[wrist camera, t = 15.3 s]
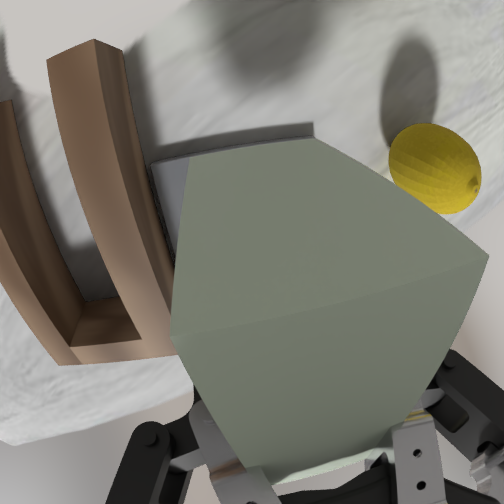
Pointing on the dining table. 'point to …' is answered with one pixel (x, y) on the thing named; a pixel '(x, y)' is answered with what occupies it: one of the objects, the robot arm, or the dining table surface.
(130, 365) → the dining table surface
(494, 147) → the dining table surface
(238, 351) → the sage block
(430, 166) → the lemon
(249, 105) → the dining table surface
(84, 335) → the rail
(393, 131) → the dining table surface
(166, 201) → the slate coaster
